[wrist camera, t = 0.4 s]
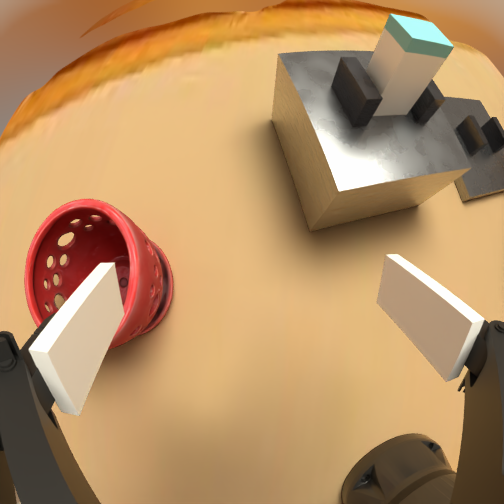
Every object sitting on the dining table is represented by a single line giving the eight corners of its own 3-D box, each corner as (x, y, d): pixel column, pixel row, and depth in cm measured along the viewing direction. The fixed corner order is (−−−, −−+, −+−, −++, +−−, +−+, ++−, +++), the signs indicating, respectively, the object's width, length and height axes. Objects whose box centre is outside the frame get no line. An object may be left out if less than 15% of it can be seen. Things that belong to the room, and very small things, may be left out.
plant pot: (152, 212, 33) (109, 168, 21) (200, 312, 31) (170, 314, 19) (70, 262, 32) (9, 242, 20) (108, 358, 30) (48, 375, 18)
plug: (406, 114, 22) (454, 46, 13) (369, 116, 22) (412, 37, 12) (392, 91, 23) (432, 22, 13) (356, 92, 23) (390, 13, 13)
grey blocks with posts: (515, 188, 34) (571, 154, 19) (311, 239, 32) (361, 181, 17) (475, 105, 38) (516, 60, 22) (269, 114, 36) (277, 19, 20)
